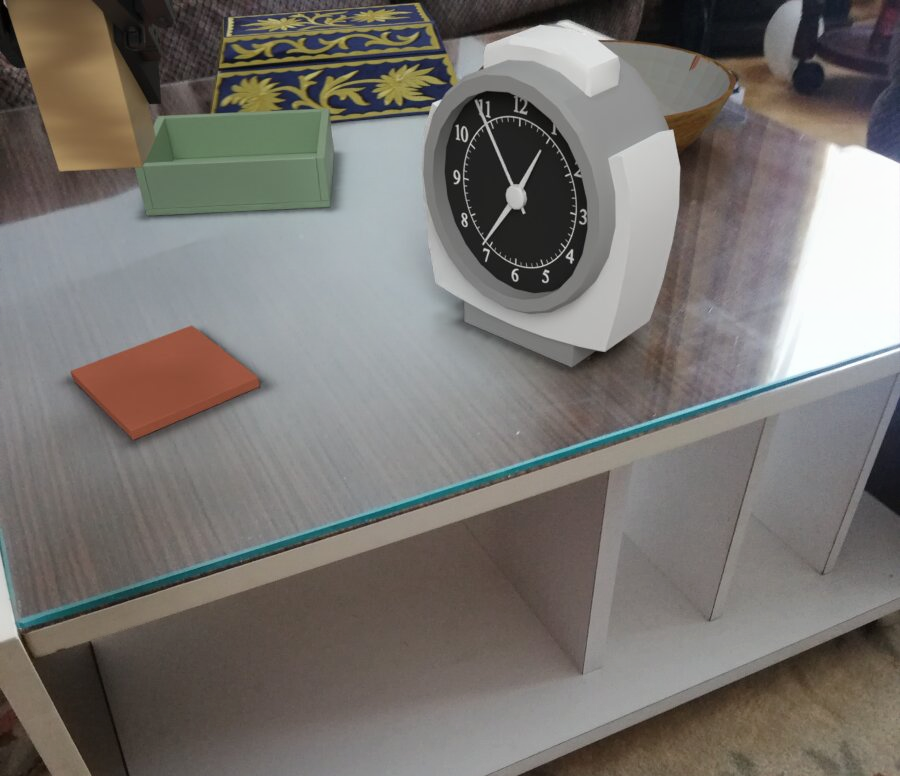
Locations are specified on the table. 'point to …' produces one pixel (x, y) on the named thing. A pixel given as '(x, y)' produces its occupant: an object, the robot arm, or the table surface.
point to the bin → (238, 162)
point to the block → (82, 85)
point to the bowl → (679, 85)
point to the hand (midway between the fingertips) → (107, 84)
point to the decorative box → (333, 62)
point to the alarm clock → (551, 194)
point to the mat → (164, 381)
